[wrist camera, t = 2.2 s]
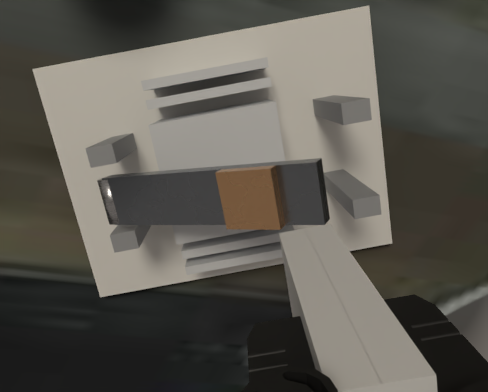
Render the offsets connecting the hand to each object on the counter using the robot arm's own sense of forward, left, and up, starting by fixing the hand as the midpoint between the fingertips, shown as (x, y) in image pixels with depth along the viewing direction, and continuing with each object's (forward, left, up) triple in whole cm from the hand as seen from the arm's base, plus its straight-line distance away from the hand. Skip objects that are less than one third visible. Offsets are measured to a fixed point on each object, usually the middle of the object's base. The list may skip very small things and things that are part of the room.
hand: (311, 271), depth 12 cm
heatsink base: (-3, 0, -21) cm, 21 cm away
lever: (-4, 0, -12) cm, 12 cm away
